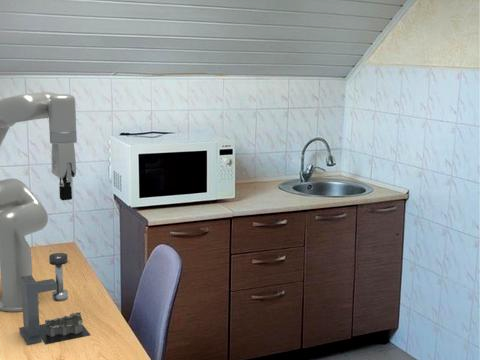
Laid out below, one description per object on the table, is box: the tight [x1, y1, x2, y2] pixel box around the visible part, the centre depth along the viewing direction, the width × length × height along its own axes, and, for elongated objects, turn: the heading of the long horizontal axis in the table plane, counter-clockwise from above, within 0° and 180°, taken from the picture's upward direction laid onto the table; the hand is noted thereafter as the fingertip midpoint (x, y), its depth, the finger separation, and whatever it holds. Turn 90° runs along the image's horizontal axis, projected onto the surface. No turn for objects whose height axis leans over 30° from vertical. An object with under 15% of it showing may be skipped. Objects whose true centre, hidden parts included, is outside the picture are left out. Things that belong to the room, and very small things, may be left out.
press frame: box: [18, 274, 91, 346], centre depth 195 cm, size 14×18×17 cm
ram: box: [48, 252, 69, 303], centre depth 194 cm, size 5×5×13 cm
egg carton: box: [44, 311, 84, 337], centre depth 197 cm, size 11×8×4 cm
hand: (66, 199), depth 199 cm, fingers closed
